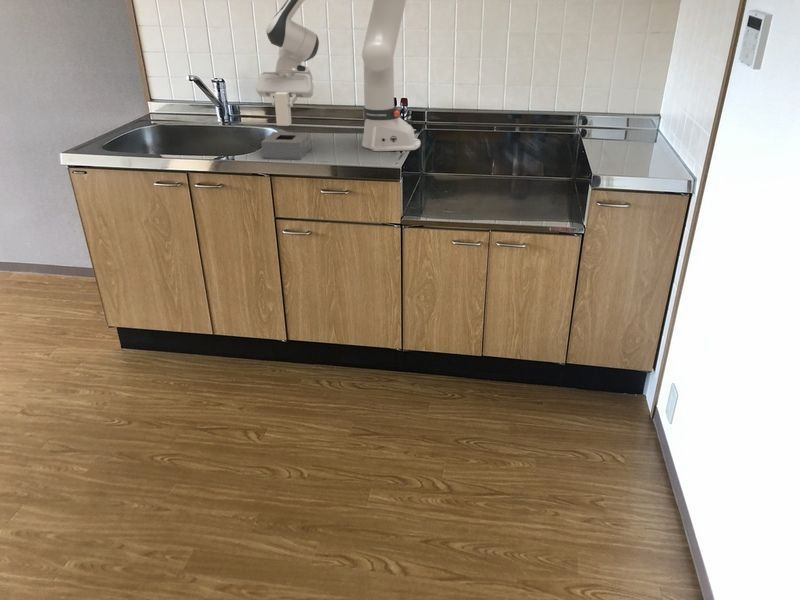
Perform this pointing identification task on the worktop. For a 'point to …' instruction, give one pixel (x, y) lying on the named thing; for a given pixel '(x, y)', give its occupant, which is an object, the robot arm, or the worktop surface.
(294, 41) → the robot arm
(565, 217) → the worktop surface
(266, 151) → the grey socket block
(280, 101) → the plug
